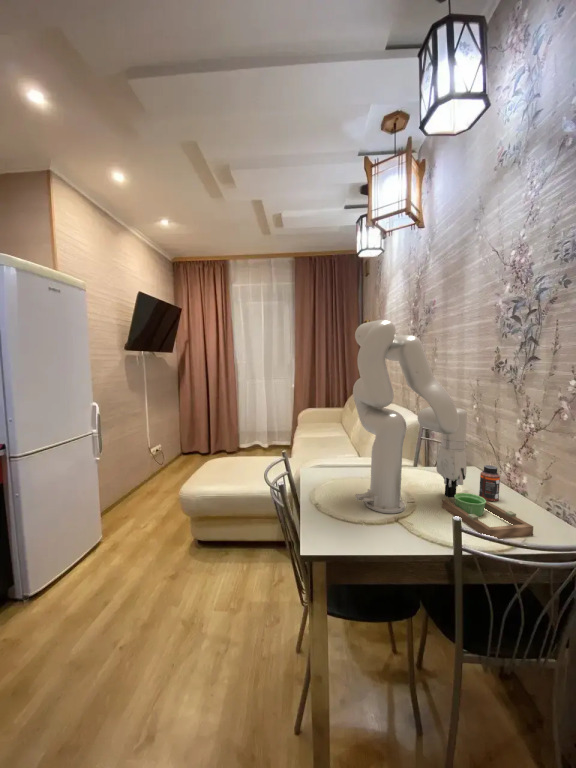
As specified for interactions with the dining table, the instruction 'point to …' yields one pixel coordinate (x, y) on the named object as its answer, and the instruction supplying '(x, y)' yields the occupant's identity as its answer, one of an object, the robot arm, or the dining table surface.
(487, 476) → the supplement bottle
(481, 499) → the ramekin
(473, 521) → the walnut track
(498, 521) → the dining table surface
